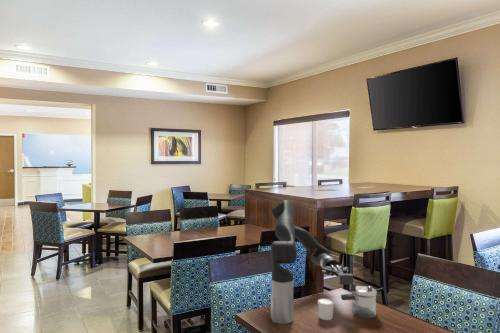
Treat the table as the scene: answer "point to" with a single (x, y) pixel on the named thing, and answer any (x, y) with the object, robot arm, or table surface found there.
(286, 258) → the robot arm
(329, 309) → the white cylinder
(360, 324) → the table surface
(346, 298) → the pot
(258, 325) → the table surface
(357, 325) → the table surface
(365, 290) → the lid
